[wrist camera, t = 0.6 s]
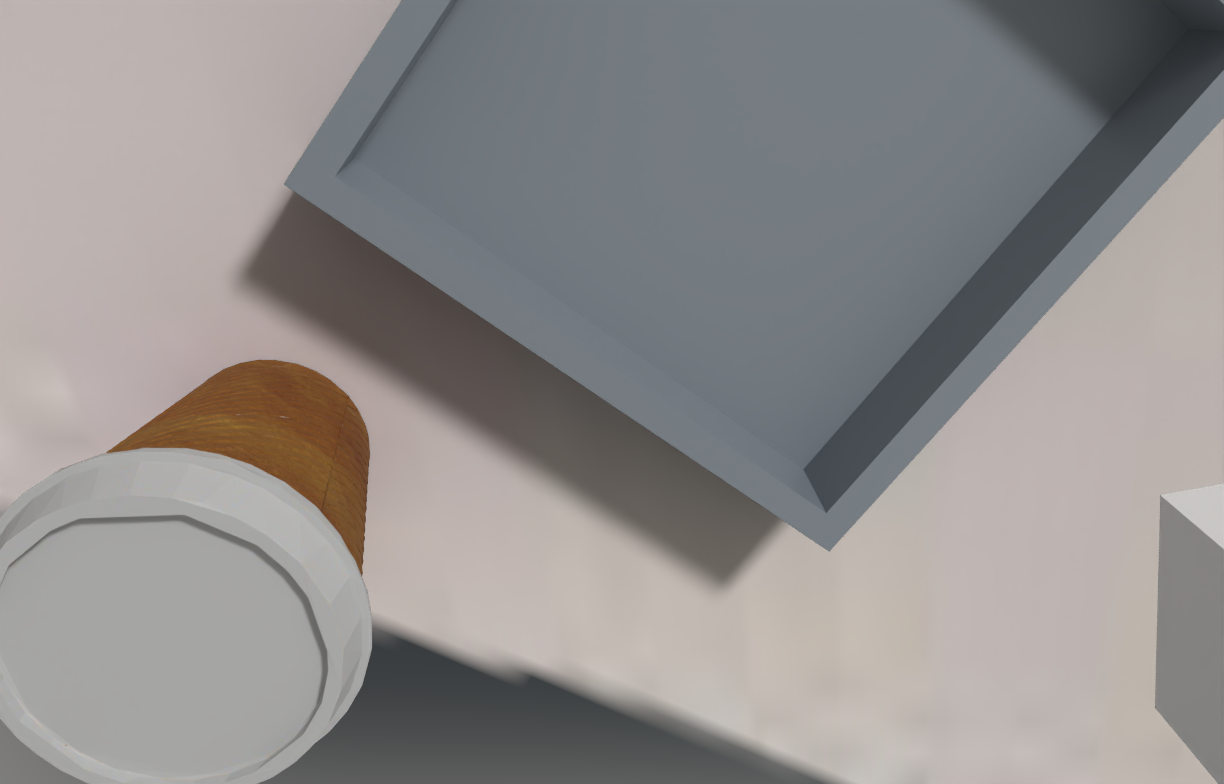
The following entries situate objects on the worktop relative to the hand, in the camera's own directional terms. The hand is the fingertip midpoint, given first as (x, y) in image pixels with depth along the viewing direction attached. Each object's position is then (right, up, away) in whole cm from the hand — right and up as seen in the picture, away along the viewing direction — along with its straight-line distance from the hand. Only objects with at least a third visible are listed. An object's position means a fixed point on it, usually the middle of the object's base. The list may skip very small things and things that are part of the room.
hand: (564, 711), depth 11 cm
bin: (+5, +13, +21) cm, 26 cm away
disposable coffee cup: (-11, +2, +25) cm, 27 cm away
